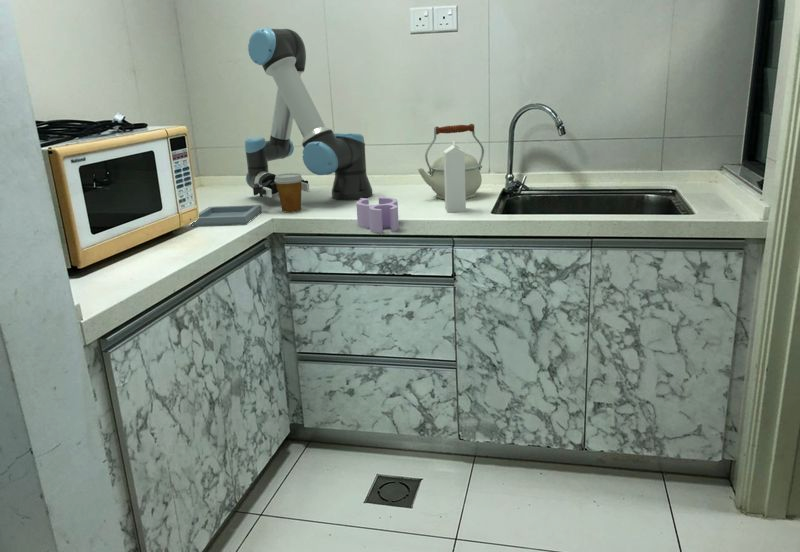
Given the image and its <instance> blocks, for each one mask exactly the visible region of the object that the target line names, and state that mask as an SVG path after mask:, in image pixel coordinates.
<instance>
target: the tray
mask: <svg viewBox="0 0 800 552" xmlns="http://www.w3.org/2000/svg"><path fill="white" fill-rule="evenodd" d="M198 213H199V219H198V220H197V221H196V222H193V223H192V224H190V226H191V225H193V226H192V227H209V226H210V227H211V226H212V225H219V226H231V225H230V224H246V225H248V224H249V223H250V222H251V221H253V220H254V219H255V218H256V217H258V216H259V215H260V214H261V213H262V205H261V204H252V205H249V204H247V205H246V204H243V205H225V206H224V205H223V206H222V205H221V206H208V207H206V208H205V209H203V210H201V211H199V212H198ZM259 213H260V214H259ZM258 214H259V215H258ZM257 215H258V216H257ZM255 216H256V217H255ZM254 217H255V218H254ZM253 218H254V219H253ZM252 219H253V220H252ZM250 220H251V221H250ZM249 221H250V222H249ZM248 222H249V223H248ZM247 223H248V224H247Z"/></svg>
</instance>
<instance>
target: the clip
mask: <svg viewBox="0 0 800 552" xmlns="http://www.w3.org/2000/svg"><path fill="white" fill-rule="evenodd" d="M369 200H370V199H369V198H367V197H366V198H360V199H358V200H357V201H356V202H355V203H356V216H357V217H356V218H357V219H356V222H357V226H358V227H360V228H363V229H364V228H366V229H370V232H372V233H374V234H383V233H384V229H385V228H390V232H392V233H393V232H394V233H395V232H398V231H399V230H400V225H399V223H400V221H399V206H398V205H399V204H398V203H399V201H398V199H397V198H395V197H387V196H385V195H381V196H379V197H378V204H370V201H369Z"/></svg>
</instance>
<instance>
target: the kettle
mask: <svg viewBox="0 0 800 552" xmlns="http://www.w3.org/2000/svg"><path fill="white" fill-rule="evenodd" d="M464 132H470V133H472V137H473V139H474V140H475V141H476V142H477V144H479V146H480V148H481V155H480V158H479V162H478V160H477V159H476V158H475V157H474V156H473V155H471V154H468V153H465V196H466V200H468V199H472V198H474V197H476V195H477V194H476V193H477V191H478V190H479V189H480V188H481V185H482V174H481V169H482V168H483V165H481V164H482V162H483V159H484V157H485V156H484V155H485V149H484V148H485V147H484V145H483V144H482V143H481V141H480V140H479V139H478V137H476V134H475V133H476V132H475V124H474V123H469V124H456V125H446V126H441V127H439V126H434V127H433V133H434V134H433V136H434V137H433V140H432V141H431V142H430V144H429V146H428V147H427V149H426V150H425V152H424V153H425V154H424V158H425V162H426V165H427V167H428V169H429V170H428V171H427V172H426V170H425V169H424V168H422V167H421V168H418V169H417V171H418V172H419V175H420V176H421V178H422V179H423V181H424V182H425V183H426V185H428V186H429V187H431V189H432V191H433V192H434V193H435V195H436V196H435V197H436V198H437V199H440V200H444V201H445V183H444V154H441V155H440V156H438V157H436V158H435V160H434V161H433V162H432V165H430V163H429V160H428V154H429V151H430V149H431V148H432V146H433V145H434V143H435V142H436V140H437V135H440V134H454V133H464ZM455 147H457V148H459V149H461V148H460V147H458V146H457V145H455Z"/></svg>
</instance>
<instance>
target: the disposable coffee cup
mask: <svg viewBox="0 0 800 552" xmlns="http://www.w3.org/2000/svg"><path fill="white" fill-rule="evenodd" d="M303 179H304V178H303V176H302V174H301V173H298V172H296V173H294V172H291V173H283V174H282V173H281V174H277V176H275V180H274V181H275V183H276V185H277V190H278V192H277V193H278V199H279V202H280V207H281V211H282V212H283V211H286V212H285V213H293V212H292V211H295V212H300V211H301V209H302V190H301V182H302V180H303Z"/></svg>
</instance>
